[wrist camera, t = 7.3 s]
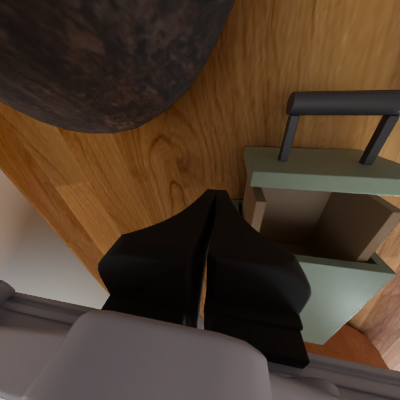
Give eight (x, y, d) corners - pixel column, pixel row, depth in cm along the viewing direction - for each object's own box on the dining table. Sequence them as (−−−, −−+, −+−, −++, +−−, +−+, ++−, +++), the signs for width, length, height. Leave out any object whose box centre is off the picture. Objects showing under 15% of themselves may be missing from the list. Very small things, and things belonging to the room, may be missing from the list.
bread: (247, 331, 42) (256, 447, 28) (326, 306, 31) (406, 477, 17) (294, 356, 45) (323, 473, 31) (380, 341, 34) (488, 512, 20)
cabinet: (232, 199, 22) (232, 253, 14) (331, 207, 20) (397, 274, 12) (224, 265, 30) (222, 325, 22) (296, 275, 28) (322, 345, 20)
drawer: (251, 95, 15) (266, 88, 9) (389, 93, 13) (541, 83, 7) (232, 235, 25) (232, 283, 18) (312, 244, 23) (345, 301, 16)
